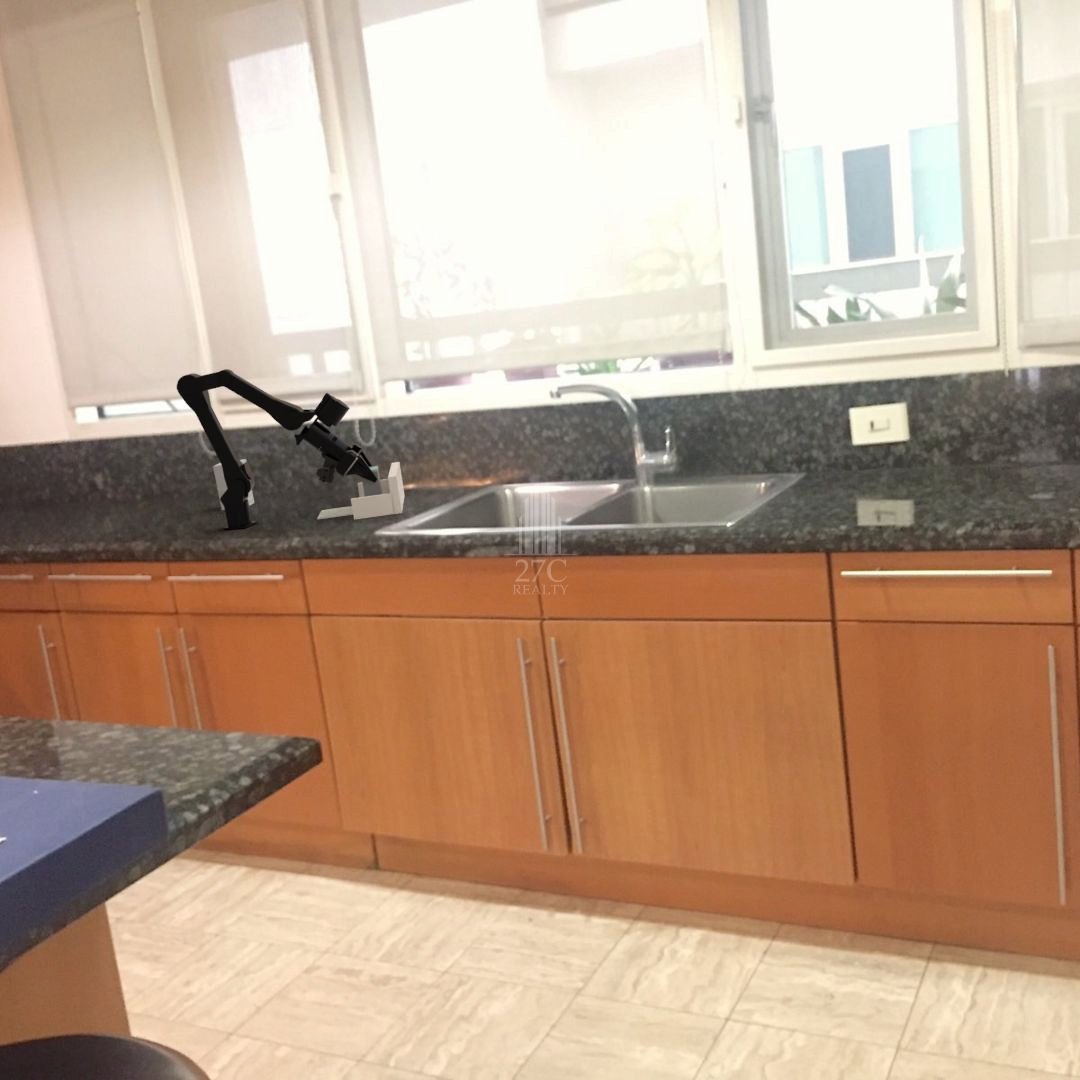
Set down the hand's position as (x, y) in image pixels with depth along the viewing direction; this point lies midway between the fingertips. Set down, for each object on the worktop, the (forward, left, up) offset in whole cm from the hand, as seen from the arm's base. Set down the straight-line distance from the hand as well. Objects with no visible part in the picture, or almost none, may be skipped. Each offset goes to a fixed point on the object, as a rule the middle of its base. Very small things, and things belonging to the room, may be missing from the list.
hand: (376, 479), depth 297 cm
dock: (0, 0, -7) cm, 7 cm away
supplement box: (+17, +51, -7) cm, 54 cm away
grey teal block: (-1, +1, -7) cm, 7 cm away
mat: (-4, +10, -7) cm, 13 cm away
